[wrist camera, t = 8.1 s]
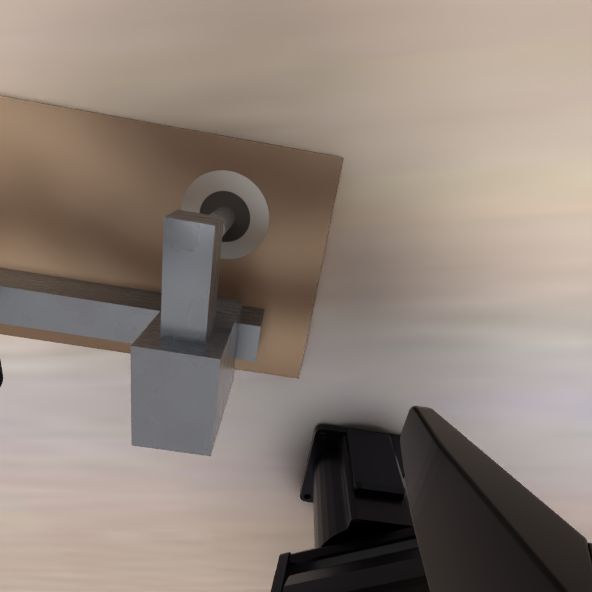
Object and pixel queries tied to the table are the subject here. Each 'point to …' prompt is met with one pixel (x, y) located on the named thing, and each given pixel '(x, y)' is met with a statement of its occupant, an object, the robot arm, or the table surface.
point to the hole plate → (163, 214)
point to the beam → (157, 331)
